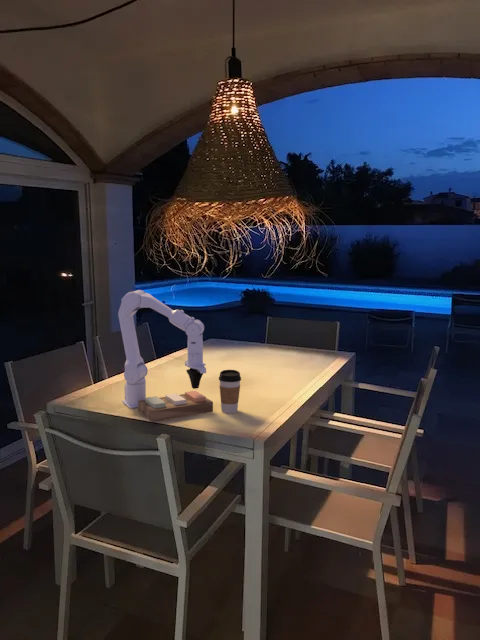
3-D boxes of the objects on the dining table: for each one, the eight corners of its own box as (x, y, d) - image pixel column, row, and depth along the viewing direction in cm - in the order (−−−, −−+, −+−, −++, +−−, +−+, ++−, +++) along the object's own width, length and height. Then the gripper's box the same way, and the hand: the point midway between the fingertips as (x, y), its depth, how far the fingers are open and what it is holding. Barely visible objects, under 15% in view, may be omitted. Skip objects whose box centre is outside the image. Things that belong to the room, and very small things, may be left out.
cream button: (165, 405, 202) (165, 394, 201) (176, 403, 204) (176, 393, 203) (174, 411, 194) (174, 401, 193) (186, 410, 196) (186, 399, 196)
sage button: (145, 408, 198) (145, 397, 197) (156, 406, 200) (156, 396, 199) (154, 415, 190) (153, 404, 189) (165, 413, 192) (165, 402, 192)
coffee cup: (240, 407, 205) (241, 369, 202) (240, 415, 196) (241, 375, 194) (218, 407, 204) (218, 369, 202) (217, 414, 196) (218, 374, 194)
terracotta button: (185, 402, 206) (184, 392, 205) (195, 400, 208) (195, 390, 207) (194, 408, 198) (194, 398, 197) (205, 407, 200) (205, 396, 199)
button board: (138, 410, 199) (138, 400, 199) (196, 402, 211) (196, 392, 210) (151, 422, 187) (151, 411, 187) (212, 412, 199) (213, 401, 198)
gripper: (213, 355, 196) (213, 391, 198) (196, 348, 208) (196, 382, 210) (196, 357, 192) (196, 393, 194) (179, 350, 205) (180, 384, 207)
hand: (195, 388), depth 202 cm, fingers closed
